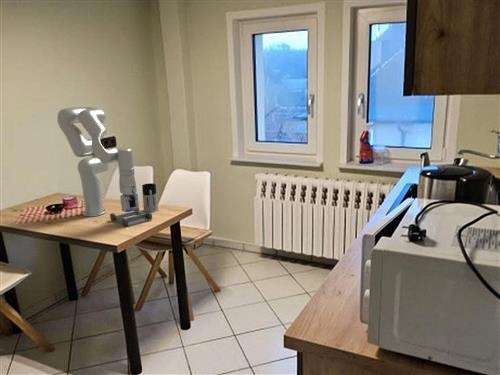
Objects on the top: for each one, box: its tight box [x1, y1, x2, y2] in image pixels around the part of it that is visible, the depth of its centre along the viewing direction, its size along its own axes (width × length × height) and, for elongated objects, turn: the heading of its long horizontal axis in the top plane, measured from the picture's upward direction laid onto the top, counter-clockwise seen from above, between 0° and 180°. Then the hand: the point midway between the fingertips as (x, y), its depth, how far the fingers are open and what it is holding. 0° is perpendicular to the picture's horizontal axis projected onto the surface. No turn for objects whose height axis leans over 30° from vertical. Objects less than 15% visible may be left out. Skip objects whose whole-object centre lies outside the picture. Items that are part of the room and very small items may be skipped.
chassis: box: [109, 209, 153, 227], centre depth 223 cm, size 17×15×4 cm
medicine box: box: [119, 193, 140, 213], centre depth 221 cm, size 8×4×9 cm, turn 131°
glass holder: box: [141, 183, 160, 214], centre depth 236 cm, size 9×14×15 cm, turn 18°
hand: (130, 205), depth 222 cm, fingers closed on medicine box, 4 cm apart
